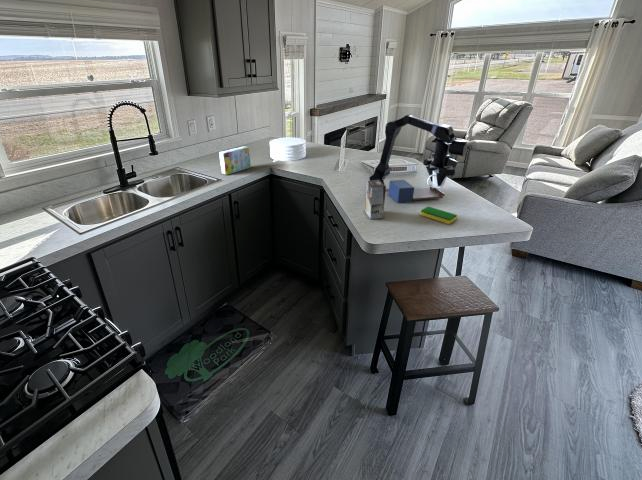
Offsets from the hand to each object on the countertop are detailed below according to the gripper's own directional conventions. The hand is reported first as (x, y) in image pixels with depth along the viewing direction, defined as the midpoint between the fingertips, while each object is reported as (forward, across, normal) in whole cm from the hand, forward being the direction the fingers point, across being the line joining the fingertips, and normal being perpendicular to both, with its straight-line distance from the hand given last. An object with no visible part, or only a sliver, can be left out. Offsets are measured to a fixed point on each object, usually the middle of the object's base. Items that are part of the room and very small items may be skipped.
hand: (435, 183), depth 161 cm
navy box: (+12, +11, +3) cm, 16 cm away
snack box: (+13, +77, +100) cm, 127 cm away
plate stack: (+13, +108, +60) cm, 124 cm away
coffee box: (+12, -6, +33) cm, 35 cm away
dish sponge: (+12, -14, +5) cm, 19 cm away
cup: (+2, 0, 0) cm, 2 cm away
